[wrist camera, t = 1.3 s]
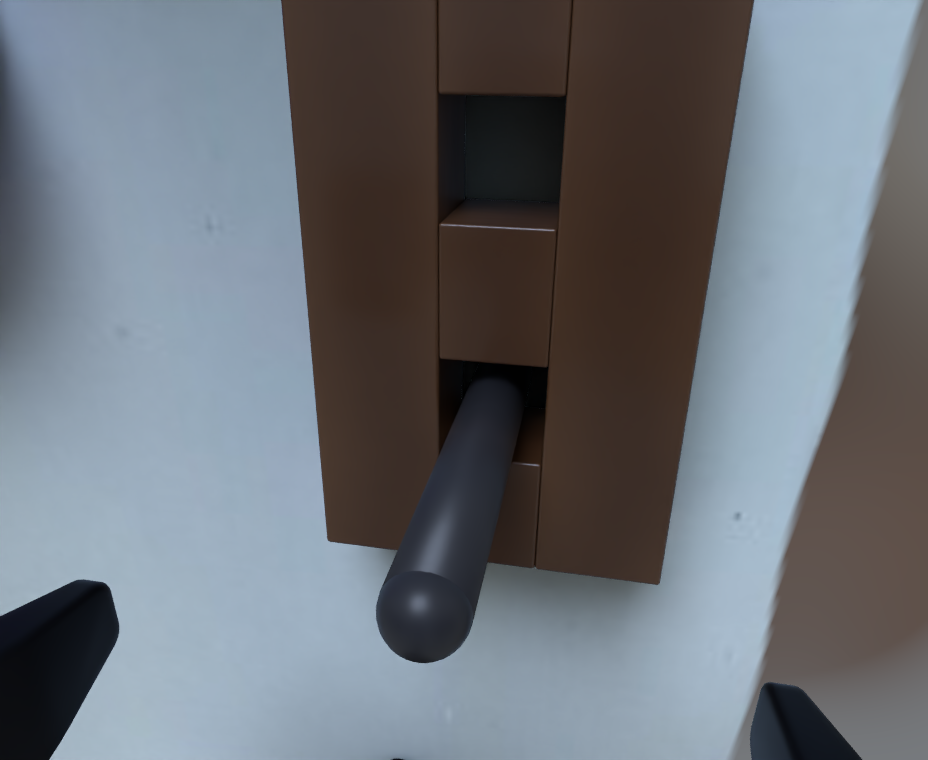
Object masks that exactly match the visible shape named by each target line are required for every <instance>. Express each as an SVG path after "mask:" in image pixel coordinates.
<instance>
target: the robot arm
mask: <svg viewBox="0 0 928 760" xmlns="http://www.w3.org/2000/svg"><path fill="white" fill-rule="evenodd" d="M118 634H119V622H118V618H117V614H116V610H115V606H114V602H113V598H112V594H111V590H110V588H109V587H108V586H107V584H105V583H103V582H97V581H90V580H84V579H83V580H76V581H73V582H71V583H69V584H67V585H65V586H63V587H61V588H59V589H57V590H54V591H52V592H50V593H48V594H46V595H44V596H42V597H40V598H38V599H36V600H34V601H31V602H29V603H27V604H25V605H23V606H21V607H19V608H17V609H15V610H13V611H10V612H8V613H6V614H4V615H2V616H0V760H49V759H50V758H51V756H52V754H53V753H54V751H55V750H56V748H57V747H58V745H59V744H60V742H61V740H62V738H63V737H64V735H65V733H66V732H67V730H68V728H69V727H70V725H71V723H72V721H73V719H74V718H75V716H76V714H77V712H78V710H79V709H80V707H81V705H82V703H83V701H84V700H85V698H86V696H87V694H88V692H89V691H90V689H91V687H92V685H93V683H94V682H95V680H96V678H97V676H98V674H99V673H100V671H101V669H102V667H103V665H104V664H105V662H106V660H107V658H108V656H109V655H110V653H111V651H112V649H113V647H114V646H115V643H116V641H117V638H118ZM750 748H751V758H752V760H862V759H861V758H860V757H859V755H858V754H857V753H856V752H855V750H853V748H852V747H851V746H850V745H849V743H848V742H847V741H846V740H845V739H844V738H843V736H842V735H841V734H840V733H839V732H838V731H837V729H836V728H835V727H834V726H833V725H832V723H831V722H830V721H829V720H828V719H827V718H826V716H825V715H824V714H823V713H822V712H821V711H820V709H819V708H818V707H817V706H816V705H815V704H814V702H813V701H812V700H811V699H810V698H809V697H808V696H807V694H806V693H805V692H804V691H803V690H802V689H800V688H799V687H796V686H792V685H786V684H778V683H772V682H768V683H765V684H764V685H763V687H762V688H761V692H760V695H759V699H758V703H757V707H756V711H755V715H754V718H753V722H752V726H751V733H750ZM392 760H403V759H392Z"/></svg>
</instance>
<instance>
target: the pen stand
mask: <svg viewBox="0 0 928 760" xmlns="http://www.w3.org/2000/svg"><path fill="white" fill-rule="evenodd" d="M281 3H282V15H283V26H284V38H285V50H286V61H287V73H288V85H289V96H290V108H291V120H292V131H293V143H294V155H295V166H296V178H297V190H298V201H299V213H300V225H301V236H302V248H303V259H304V271H305V283H306V294H307V306H308V318H309V329H310V341H311V353H312V364H313V376H314V388H315V399H316V411H317V423H318V434H319V446H320V458H321V469H322V481H323V492H324V504H325V516H326V527H327V539H328V541H330V542H337V543H344V544H352V545H360V546H367V547H375V548H383V549H390V550H398V549H399V547H400V544H401V542H402V540H403V537H404V535H405V533H406V530H407V528H408V526H409V523H410V521H411V519H412V517H413V514H414V512H415V510H416V507H417V505H418V503H419V500H420V498H421V496H422V493H423V491H424V489H425V487H426V484H427V482H428V480H429V477H430V475H431V473H432V470H433V468H434V466H435V463H436V461H437V459H438V456H439V454H440V452H441V450H442V447H443V445H444V443H445V440H446V438H447V436H448V433H449V431H450V429H451V426H452V424H453V422H454V420H455V417H456V415H457V413H458V410H459V408H460V406H461V403H462V383H463V361H471V362H483V363H495V364H507V365H519V366H531V367H543V368H546V367H548V379H547V394H546V408H537V407H526V406H525V408H524V413H523V417H522V421H521V425H520V429H519V433H518V437H517V441H516V446H515V450H514V454H513V458H512V462H511V466H510V470H509V475H508V479H507V483H506V487H505V491H504V495H503V499H502V503H501V508H500V512H499V516H498V520H497V524H496V528H495V532H494V537H493V541H492V545H491V549H490V553H489V557H488V561H487V562H489V563H496V564H504V565H512V566H519V567H527V568H534V566H535V567H536V569H541V570H548V571H556V572H564V573H571V574H579V575H586V576H594V577H602V578H609V579H617V580H625V581H632V582H640V583H648V584H655V585H658V584H659V583H660V579H661V573H662V566H663V560H664V554H665V548H666V542H667V536H668V529H669V523H670V517H671V511H672V505H673V498H674V492H675V486H676V480H677V474H678V468H679V461H680V455H681V449H682V443H683V437H684V430H685V424H686V418H687V412H688V406H689V400H690V393H691V387H692V381H693V375H694V369H695V363H696V356H697V350H698V344H699V338H700V332H701V325H702V319H703V313H704V307H705V301H706V295H707V288H708V282H709V276H710V270H711V264H712V258H713V251H714V245H715V239H716V233H717V227H718V220H719V214H720V208H721V202H722V196H723V190H724V183H725V177H726V171H727V165H728V159H729V152H730V146H731V140H732V134H733V128H734V122H735V115H736V109H737V103H738V97H739V91H740V85H741V78H742V72H743V66H744V60H745V54H746V47H747V41H748V35H749V29H750V23H751V17H752V10H753V4H754V0H281ZM466 95H479V96H530V97H564V96H566V110H565V125H564V140H563V155H562V170H561V185H560V200H559V203H557V202H534V201H512V200H489V199H465V119H466Z"/></svg>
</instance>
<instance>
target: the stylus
mask: <svg viewBox="0 0 928 760" xmlns="http://www.w3.org/2000/svg"><path fill="white" fill-rule="evenodd" d="M531 379H532V367H531V366H519V365H507V364H495V363H483V362H479V364H478V366H477V369H476V371H475V373H474V376H473V378H472V380H471V383H470V385H469V387H468V389H467V392H466V394H465V396H464V399H463V401H462V403H461V406H460V408H459V410H458V413H457V415H456V417H455V420H454V422H453V424H452V426H451V429H450V431H449V433H448V436H447V438H446V440H445V443H444V445H443V447H442V450H441V452H440V454H439V456H438V459H437V461H436V463H435V466H434V468H433V470H432V473H431V475H430V477H429V480H428V482H427V484H426V487H425V489H424V491H423V493H422V496H421V498H420V500H419V503H418V505H417V507H416V510H415V512H414V514H413V517H412V519H411V521H410V523H409V526H408V528H407V530H406V533H405V535H404V537H403V540H402V542H401V544H400V547H399V549H398V551H397V554H396V556H395V558H394V560H393V563H392V565H391V567H390V570H389V572H388V574H387V577H386V579H385V581H384V584H383V586H382V588H381V591H380V593H379V597H378V601H377V605H376V620H377V624H378V628H379V631H380V634H381V636H382V638H383V639H384V641H385V642H386V644H387V645H388V646H389V648H390V649H391V650H392V651H393V652H395V653H396V654H397V655H399V656H400V657H402V658H404V659H406V660H409V661H413V662H418V663H430V662H435V661H438V660H441V659H444V658H446V657H448V656H450V655H451V654H452V653H454V652H455V651H456V650H457V649H458V648H459V647H460V646H461V645H462V644H463V642H464V641H465V639H466V638H467V636H468V634H469V632H470V629H471V626H472V623H473V619H474V615H475V611H476V607H477V603H478V599H479V594H480V590H481V586H482V582H483V578H484V574H485V570H486V565H487V561H488V557H489V553H490V549H491V545H492V541H493V537H494V532H495V528H496V524H497V520H498V516H499V512H500V508H501V503H502V499H503V495H504V491H505V487H506V483H507V479H508V475H509V470H510V466H511V462H512V458H513V454H514V450H515V446H516V441H517V437H518V433H519V429H520V425H521V421H522V417H523V413H524V408H525V404H526V400H527V396H528V392H529V388H530V384H531Z"/></svg>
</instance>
